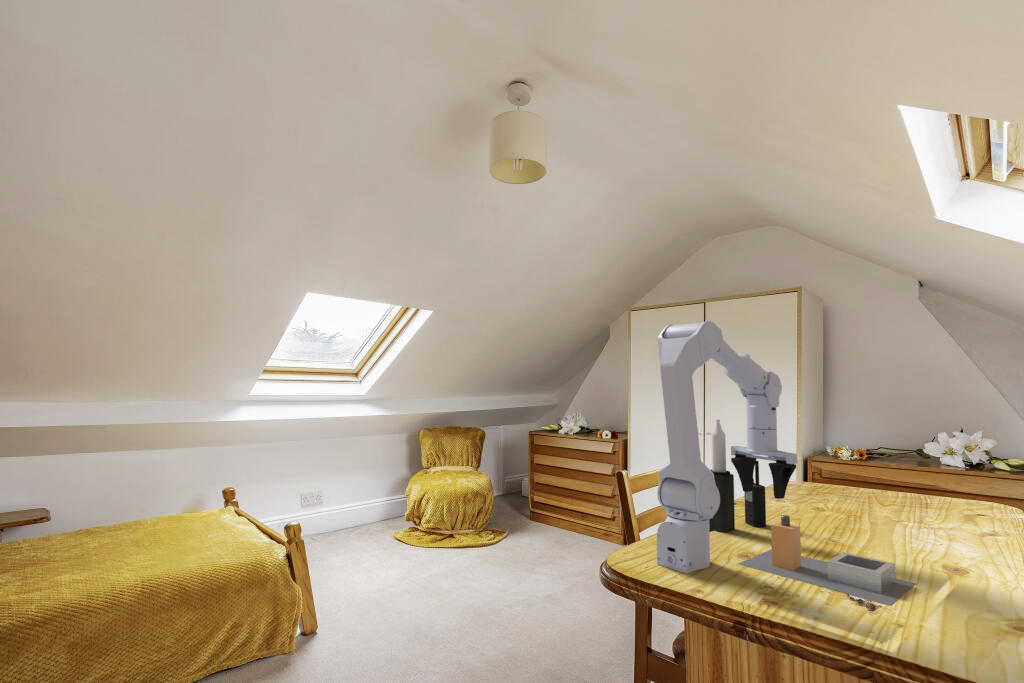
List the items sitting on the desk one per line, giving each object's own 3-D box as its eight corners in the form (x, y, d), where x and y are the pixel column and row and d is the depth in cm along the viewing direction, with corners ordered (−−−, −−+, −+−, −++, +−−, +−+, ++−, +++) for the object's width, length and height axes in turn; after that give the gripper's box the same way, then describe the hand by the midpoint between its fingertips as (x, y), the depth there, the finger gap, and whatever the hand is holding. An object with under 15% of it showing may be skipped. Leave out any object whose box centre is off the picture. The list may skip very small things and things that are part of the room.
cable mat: (890, 611, 77) (890, 605, 77) (737, 568, 95) (737, 563, 95) (916, 588, 86) (916, 583, 86) (772, 553, 104) (772, 548, 104)
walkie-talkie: (743, 522, 127) (742, 458, 129) (757, 522, 128) (755, 458, 129) (755, 527, 123) (753, 461, 124) (769, 527, 123) (767, 461, 124)
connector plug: (792, 570, 92) (791, 519, 92) (772, 565, 94) (770, 515, 95) (801, 566, 94) (799, 516, 95) (780, 561, 97) (779, 512, 97)
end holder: (881, 593, 82) (880, 573, 82) (827, 579, 88) (827, 560, 88) (895, 582, 87) (895, 563, 87) (844, 569, 92) (843, 552, 93)
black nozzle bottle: (725, 536, 115) (722, 420, 117) (703, 531, 119) (701, 418, 121) (736, 532, 118) (734, 419, 120) (715, 527, 122) (713, 418, 124)
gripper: (806, 431, 107) (808, 500, 106) (746, 425, 120) (747, 487, 119) (782, 431, 104) (784, 502, 103) (723, 426, 117) (724, 489, 116)
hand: (763, 494), depth 111 cm, fingers open, 7 cm apart
